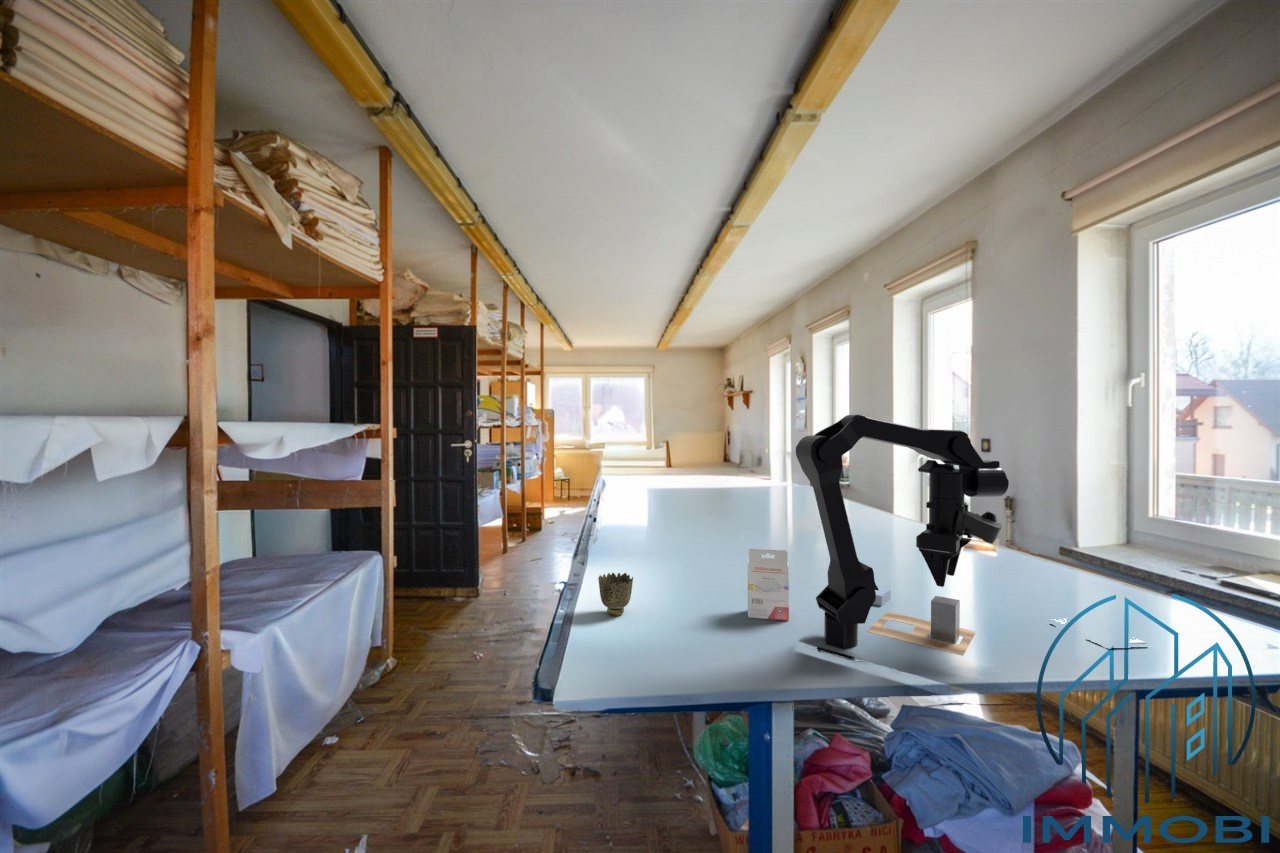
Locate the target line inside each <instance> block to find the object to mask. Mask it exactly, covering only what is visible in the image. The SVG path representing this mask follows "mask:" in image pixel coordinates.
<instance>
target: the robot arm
mask: <svg viewBox="0 0 1280 853" xmlns="http://www.w3.org/2000/svg"><path fill="white" fill-rule="evenodd" d="M860 439H865V440H866V439H867V440H871V441H875V442H881V443H884V444H885V443H886V444H891V445H895V446H899V447H905V448H908V449H911V450H913V451H915V453H918V454H919V455H922V456H924V457H927V458H929V459H927V460H926V461H925V462H924V463H923V464H922V465H921V466H919V467H918V468H917V471H918V472H919V473H926V474H929V475H928V476H929V478H928V479H929V480H928V481H929V482H928V492H929V493H928V495H929V496H928V501H927V502H926V505H925V506H926V509H928V523H926V526H925V527H926V529H925V530H923V531H922V532H920V533H919V534H918V535H916V538H915V539H916V541H915V546H916V548H918V551H919V552H920V553H921V555H922V557H923V559H924V561H925V562H926V565H927V567H928V570H929V572H930V574H931V576H932V579H933V580H934V582H935V584H936V586H938V587H941V588H943V587H945V584H946V580H947V575H948V576H951V577H953V576H955V574H956V570H957V566H958V562H959V560H960V556H961V551H962V549H963V548H964V547H965V546H966V545H968V544H969V543H970V542H971V541H972V538H973V537H977V538H979V539H981V540H982V541H983V542H985V543H987V544H990V545H991V544H994V543H995V542H996V540H997V539H998V538H997V537H999V534H1000V532H1001V529H1002V527H1003V524H1002V523H1001V522H998V520H997V514H995V513H993V512H991V511H989V510H988V511H986V512H984V513H982V514H981V515H980V514H979V513H975V512H971V511H969V504H967V502H966V501H965V496H967V497H968V498H969V497H970V498H974V497H975V498H978V497H979V498H982V497H983V498H984V497H986V498H987V497H991V498H992V497H1002V496H1004V495H1005V494H1006V493H1007V491H1008V489H1009V486H1010V485H1009V484H1010V483H1009V482H1010V480H1009V478H1008V476H1007V473H1006V472H1005V471H1004V469H1003V468H1001V467H1000V465H1001V464H1000V461H999V460H990V459H987V460H986V459H985V460H983V459H982V458H981V456H980V455H979V453H978V452H977V450H976V448H975V447H974V446H973V445H972V444H973V443H972V442H971V439H970V436H969V434H968V433H967V432H965V431H963V430H961V429H960V430H959V429H958V430H957V429H956V430H955V429H928V428H926V429H923V428H917V427H913V426H909V425H904V424H901V423H897V422H890V421H886V420H882V419H876V418H872V417H869V416H866V415H863V414H847V415H845V416H844V417H842V418H841V419H840V420H837V422H834V423H833V424H831V425H829V426H827V427H825V428H823V429H822V430H819V431H818V432H816V433H815V434H813V435H806V436H804V437H802V438H800V440H799V442H798V443H797V445H795V456H796V458H797V460H798V462H799V465H800V468H801V470H802V472H803V473H804V476H806V478H807V480H808V481H809V483H810V484H811V486H812V488H813V494H814V497H815V501H816V505H817V508H818V513H819V517H820V521H821V526H822V529H823V534H824V537H825V543H826V545H827V550H828V554H829V559H830V560H829V565H828V569H827V583H828V584H827V585H826V586H825V588H823V589H822V591H820V593H819V594H817V596H815V600H816V603H817V606H818V608H819V609H821V610H822V611H824V615H823V617H824V619H823V620H824V626H823V627H824V628H823V633H824V634H823V636H824V637H823V638H824V639H823V640H824V642H825V646H831V647H834V648H836V649H841V650H845V649H852V648H853V649H854V648H856V647H857V646H858V644H859V643H858V641H859V631H858V630H859V625H860V624H862V625H863V624H866V622H867V619H868V617H869V614H870V610H871V608H872V606H874V605H873V603H874V602H875V601H876V592H875V590H877V591H878V590H879V589H878V587H879V586H877V584H876V582H875V572H874V569H873V568H872V567H871V566H869V565H867V564H865V563H863V562H861V561H860V560H859V558H858V555H857V550H856V546H855V541H854V538H853V533H852V530H851V527H850V526H851V525H850V521H849V518H848V514H847V510H846V508H847V507H846V505H845V504H846V503H845V500H844V496H843V493H842V488H841V484H840V483H841V477H842V472H843V469H844V465H843V455H845V454H846V453H848V452H849V451H851V450H852V449H853V448H854V446H855V445H856V444H857V443H858V442H859V441H860ZM936 460H938V461H940V462H942V463H938V462H937V461H936ZM956 466H958V468H957V467H956ZM964 536H966V537H964ZM816 649H817V650H819V651H822V652H826V653H828V654H833V655H836V656H840V657H842V658H847V659H849V660H854V659H855V658H856V657H855V656H852V655H848V654H844V653H841V652H837V651H834V650H831V649H827V648H824V647H821V646H820V647H819V646H816Z"/></svg>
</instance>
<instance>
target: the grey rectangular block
mask: <svg viewBox="0 0 1280 853" xmlns="http://www.w3.org/2000/svg"><path fill="white" fill-rule="evenodd" d="M960 604H961V600H959V599H955V598H950V597H945V596H940V595H935V596H934V597H933V598H932V599H931V600H930V621H931V632H930V638H931V639H936V640H940V641H944V642H948V643H952V644H957V641H958V640H959V638H960V636H959V628H961V626H960V618H961V617H960V614H961V612H960V611H961V608H960V607H961V605H960Z"/></svg>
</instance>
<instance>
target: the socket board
mask: <svg viewBox="0 0 1280 853" xmlns="http://www.w3.org/2000/svg"><path fill="white" fill-rule="evenodd" d="M889 620H890V621H893V622H899V623H904V624H907V625H911V626H915V627H914V628H913V629H912V630H911V631H910V633H909V632H906V631H902V630H899V629H898V630H897V629H893V628H889V627H885V626H883V625H885V624H886V623H887V622H888V621H889ZM866 632H867V633H871V634H875V635H880V636H883V637H887V638H890V639H895V640H898V641H899V640H900V641H903V642H907V643H912V644H915V645H919V646H922V647H927V648H932V649H935V650H939V651H943V652H947V653H951V654H956V655H960V656H964V655H965V653H966V651H967V649H968V647H969V645H970V644H971V642H972V640H973V639H974V636H975V635H976V634H977V631H975V630H972V629H967V628H963V627H959V637H962V638H961V640H960V642H959V644H957V643H952V642H947V641H943V640H939V639H935V638H931V637H928V636H929V635H931V620H926V619H922V618H918V617H913V616H908V615H905V614H900V613H896V612H892V611H891V612H890V611H887V612H885V614H883V615H882V616H881V617H880V618H879V619H878V620H877V621H876V622H874V623H873V624H872V625H871V626H870V627H869V628H868V629H867V630H866Z"/></svg>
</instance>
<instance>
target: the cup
mask: <svg viewBox="0 0 1280 853" xmlns="http://www.w3.org/2000/svg"><path fill="white" fill-rule="evenodd" d="M597 579H598V586H599V587H598V588H599V595H600V596H599V597H600V600H601V602H602V605H604V607H606V608H607V610H606V612H607V614H608V615H609V616H612V617H619V616H621V615H623V614H624V612H625V609H624V608H625V607H626V606H628V605H629V604H630V601H631V597H632V590H633V582H634V576H632V577H631V578H630V574H627V573H626V572H624V573H623V574H621V572H618V573H617V574H615V573H614V572H612V573H610V572H608V573H607V575H606V574H605V573H603V575H600V574H599V577H598V578H597Z"/></svg>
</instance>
